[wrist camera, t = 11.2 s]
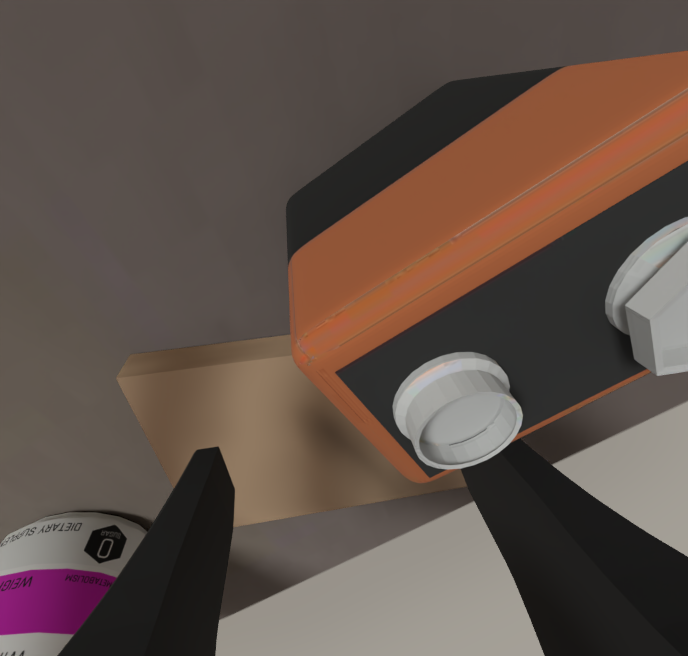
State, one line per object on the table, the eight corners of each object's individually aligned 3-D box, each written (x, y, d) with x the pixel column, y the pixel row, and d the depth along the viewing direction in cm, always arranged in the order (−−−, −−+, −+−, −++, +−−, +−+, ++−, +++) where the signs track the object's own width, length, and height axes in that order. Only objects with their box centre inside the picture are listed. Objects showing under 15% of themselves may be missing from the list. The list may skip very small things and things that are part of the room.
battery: (497, 194, 13) (862, 349, 5) (345, 292, 15) (432, 548, 6) (454, 72, 11) (990, -20, 3) (279, 201, 12) (273, 410, 4)
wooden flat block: (500, 308, 16) (518, 325, 15) (467, 462, 22) (479, 484, 21) (130, 354, 15) (116, 378, 13) (202, 506, 21) (197, 533, 19)
